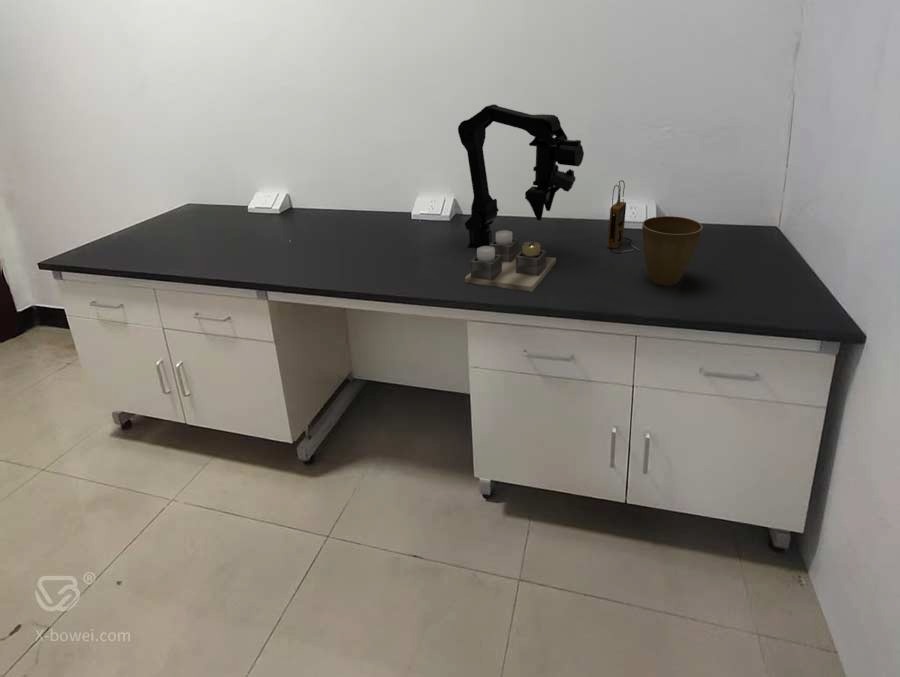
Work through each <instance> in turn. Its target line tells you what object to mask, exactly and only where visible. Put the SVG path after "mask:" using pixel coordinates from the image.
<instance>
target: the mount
mask: <svg viewBox="0 0 900 677" xmlns="http://www.w3.org/2000/svg"><path fill="white" fill-rule="evenodd" d="M492 241H493V242H491V243H490V244H489V246H491V247H494V248H495V260H494V261H493V262H492V263H488V262H480V261H477V255H475V256H474V257H473V258H472V259H471V260H470V262H469V263H470V264H469V266H470V273H468V274H467V275H466V276H465V278H464V283H466V284H473V285H480V286H487V287H495V288H503V289H510V290H516V291H524V292H529V293H530V292H531V293H532V292H533V291H534V289H535V288H537V286H538V285H539V284H540V283H541V282H542V281H543V279H544V278H545V277H546V276H547V274H548V273H549V271H550V270H552V268H553V267H554V266H553V265H555V264H556V263H557V258H556V257H550V256H547V250H542V249H540V256H539V257H538V258H531V257H522V250H520V248H519V246H520V245H519V244H520V242H519V241H520V240H519V238H513V237H512V244H511V245H510V246H507V245H498V244H496V238H495V239H494V240H492ZM519 251H520V252H519Z"/></svg>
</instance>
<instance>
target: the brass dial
mask: <svg viewBox="0 0 900 677" xmlns="http://www.w3.org/2000/svg"><path fill="white" fill-rule="evenodd" d="M540 250H541V243H540V242H537V241H526V242H523V243H522V250H521V251H522V257H531V258H538V257H539V256H540Z"/></svg>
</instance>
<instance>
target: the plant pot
mask: <svg viewBox="0 0 900 677" xmlns="http://www.w3.org/2000/svg"><path fill="white" fill-rule="evenodd" d="M641 230H642V245H643V252H644V259H645V265H646V269H647V272H648V277H649V279H650V281H651V282H652V283H653V284H655V285H659V286H664V287H665V286H675V285H676V284H678V283H679V281H680V280H681V278H682V277H683V274H684V273H685V271H686V269H687V268H688V265H689V264H690V262H691V259H692V257H693V255H694V253H695V251H696V248H697V245H698V242H699V239H700V237H701V233H702V230H703V225H702V224H701V223H700V222H698V221H696V220H694V219H690V218H687V217H684V216H683V217H681V216H675V215H673V216H672V215H669V216H668V215H665V216H664V215H663V216H662V215H661V216H655V217H654V216H653V217H650V218H646V219H644V220H643V221H642V228H641Z"/></svg>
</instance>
